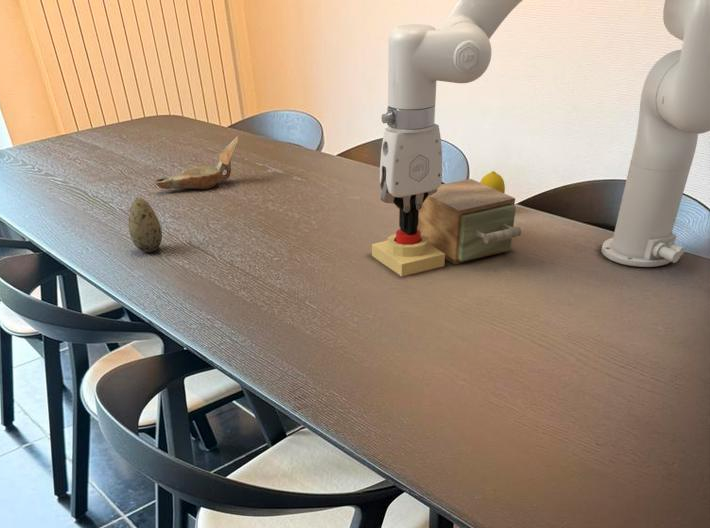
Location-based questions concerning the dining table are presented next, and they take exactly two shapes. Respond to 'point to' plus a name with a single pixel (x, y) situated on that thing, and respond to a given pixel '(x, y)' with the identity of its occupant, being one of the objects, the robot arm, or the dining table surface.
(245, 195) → the dining table surface
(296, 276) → the dining table surface
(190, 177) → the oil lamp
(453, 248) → the cabinet
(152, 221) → the decorative egg
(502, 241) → the drawer
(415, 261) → the button box
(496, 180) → the lemon
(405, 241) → the red button
